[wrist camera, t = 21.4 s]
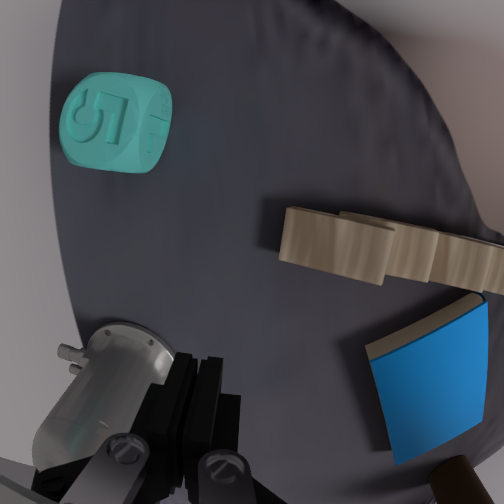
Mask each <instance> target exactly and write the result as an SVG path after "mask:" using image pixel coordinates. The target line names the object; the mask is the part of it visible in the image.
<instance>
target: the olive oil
mask: <svg viewBox="0 0 504 504" xmlns="http://www.w3.org/2000/svg"><path fill="white" fill-rule="evenodd" d="M429 483H430V486H431V488H432V491H433V494H434V496H435V499H436V502H437V504H494V502H493V500H492V499H491V497H490V495H489V494H488V492H487V491H486V489H485V488H484V486H483V484H482V482H481V481H480V479H479V477H478V476H477V474H476V473H475V471H474V469H473V468H472V466H471V464H470V462H469V461H468V459H467V458H466V456H457V457H454V458H451V459H449V460H448V461H446V462H444V463H443V464H441V465H440V466H438V467H437V468H436V469H435V470H434V471H433V472H432V473H431V474H430V476H429Z"/></svg>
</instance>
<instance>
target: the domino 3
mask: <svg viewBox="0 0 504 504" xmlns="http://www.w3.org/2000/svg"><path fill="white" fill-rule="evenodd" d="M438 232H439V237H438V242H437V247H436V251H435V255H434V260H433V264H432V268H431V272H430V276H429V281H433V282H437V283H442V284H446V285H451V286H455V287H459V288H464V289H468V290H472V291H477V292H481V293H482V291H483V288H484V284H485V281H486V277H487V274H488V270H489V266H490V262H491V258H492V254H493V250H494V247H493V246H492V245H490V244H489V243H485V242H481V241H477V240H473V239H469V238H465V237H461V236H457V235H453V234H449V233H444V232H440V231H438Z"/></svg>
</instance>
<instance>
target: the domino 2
mask: <svg viewBox="0 0 504 504" xmlns="http://www.w3.org/2000/svg"><path fill="white" fill-rule="evenodd" d="M339 216H343V217H348V218H352V219H357V220H361V221H366V222H370V223H374V224H379V225H383V226H387V227H391V228H394V229H395V234H394V239H393V243H392V247H391V252H390V256H389V260H388V264H387V268H386V272H385V274H386V275H391V276H396V277H402V278H407V279H412V280H417V281H422V282H427V283H428V280H429V276H430V272H431V268H432V264H433V260H434V255H435V251H436V247H437V242H438V237H439V232H438V231H437V230H435V229H432V228H427V227H422V226H418V225H413V224H408V223H403V222H398V221H393V220H388V219H383V218H378V217H372V216H367V215H362V214H356V213H351V212H345V211H340V213H339Z"/></svg>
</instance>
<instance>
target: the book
mask: <svg viewBox="0 0 504 504" xmlns="http://www.w3.org/2000/svg"><path fill="white" fill-rule="evenodd" d="M365 348H366V351H367V355H368V358H369V362H370V365H371V369H372V372H373V376H374V380H375V383H376V387H377V391H378V394H379V398H380V402H381V406H382V410H383V414H384V418H385V422H386V426H387V431H388V435H389V439H390V444H391V448H392V452H393V456H394V461H395V465H396V466H397V465H399V464H401V463H404V462H406V461H408V460H410V459H413V458H415V457H417V456H419V455H421V454H423V453H425V452H427V451H429V450H431V449H433V448H435V447H437V446H439V445H441V444H443V443H445V442H447V441H449V440H451V439H452V438H454V437H456V436H458V435H460V434H461V433H463V432H465V431H466V430H468V429H470V428H471V427H473V426H475V425H476V424H478V423H480V422H481V421H482V417H483V409H484V401H485V391H486V379H487V363H488V305H487V301H485V297H484V296H483V295H482V294H481V293H479V292H475V291H473V293H470V294H468V295H466V296H464V297H463V298H461V299H459V300H457V301H456V302H454V303H452V304H450V305H448V306H446V307H445V308H443V309H441V310H439V311H437V312H435V313H433V314H431V315H429V316H427V317H425V318H423V319H421V320H419V321H417V322H415V323H413V324H411V325H409V326H407V327H405V328H403V329H401V330H399V331H397V332H394V333H392V334H390V335H388V336H386V337H384V338H381V339H379V340H377V341H375V342H372V343H370V344H368V345H365Z"/></svg>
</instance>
